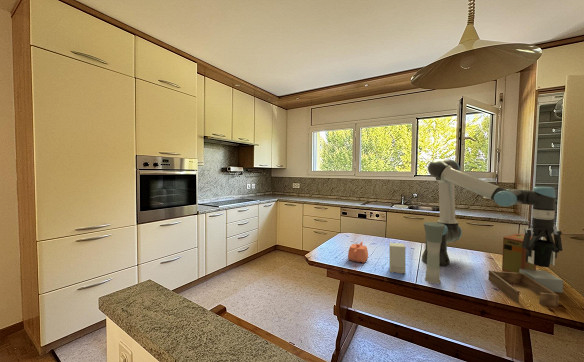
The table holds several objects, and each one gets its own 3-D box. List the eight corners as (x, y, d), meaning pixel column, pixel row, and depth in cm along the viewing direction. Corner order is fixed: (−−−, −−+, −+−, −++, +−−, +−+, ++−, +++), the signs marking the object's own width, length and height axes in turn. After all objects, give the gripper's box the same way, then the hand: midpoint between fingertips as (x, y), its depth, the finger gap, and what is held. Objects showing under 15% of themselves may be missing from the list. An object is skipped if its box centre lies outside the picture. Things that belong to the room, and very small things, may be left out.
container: (436, 286, 119) (438, 227, 118) (418, 278, 128) (419, 223, 126) (447, 282, 124) (449, 224, 122) (429, 275, 132) (430, 221, 131)
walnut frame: (516, 302, 105) (516, 291, 105) (488, 279, 127) (488, 270, 126) (558, 306, 102) (559, 295, 102) (522, 282, 123) (522, 273, 123)
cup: (539, 261, 123) (540, 238, 123) (557, 267, 116) (558, 243, 115) (525, 262, 123) (526, 239, 122) (542, 268, 115) (543, 243, 114)
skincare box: (404, 269, 139) (404, 243, 138) (405, 274, 133) (406, 247, 132) (388, 267, 142) (389, 242, 141) (389, 272, 136) (389, 245, 135)
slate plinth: (534, 290, 116) (535, 277, 115) (518, 279, 126) (519, 268, 126) (562, 292, 113) (563, 280, 113) (544, 282, 124) (545, 270, 123)
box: (522, 278, 128) (524, 241, 127) (501, 271, 136) (503, 237, 135) (535, 271, 136) (537, 237, 135) (515, 266, 144) (516, 233, 143)
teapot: (345, 262, 150) (345, 246, 150) (353, 253, 166) (353, 238, 165) (363, 266, 144) (363, 249, 144) (370, 256, 160) (370, 241, 159)
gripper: (523, 218, 117) (521, 264, 118) (576, 220, 112) (573, 268, 113) (513, 215, 124) (511, 259, 125) (562, 217, 119) (560, 262, 120)
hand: (541, 263), depth 119 cm, fingers closed on cup, 8 cm apart
